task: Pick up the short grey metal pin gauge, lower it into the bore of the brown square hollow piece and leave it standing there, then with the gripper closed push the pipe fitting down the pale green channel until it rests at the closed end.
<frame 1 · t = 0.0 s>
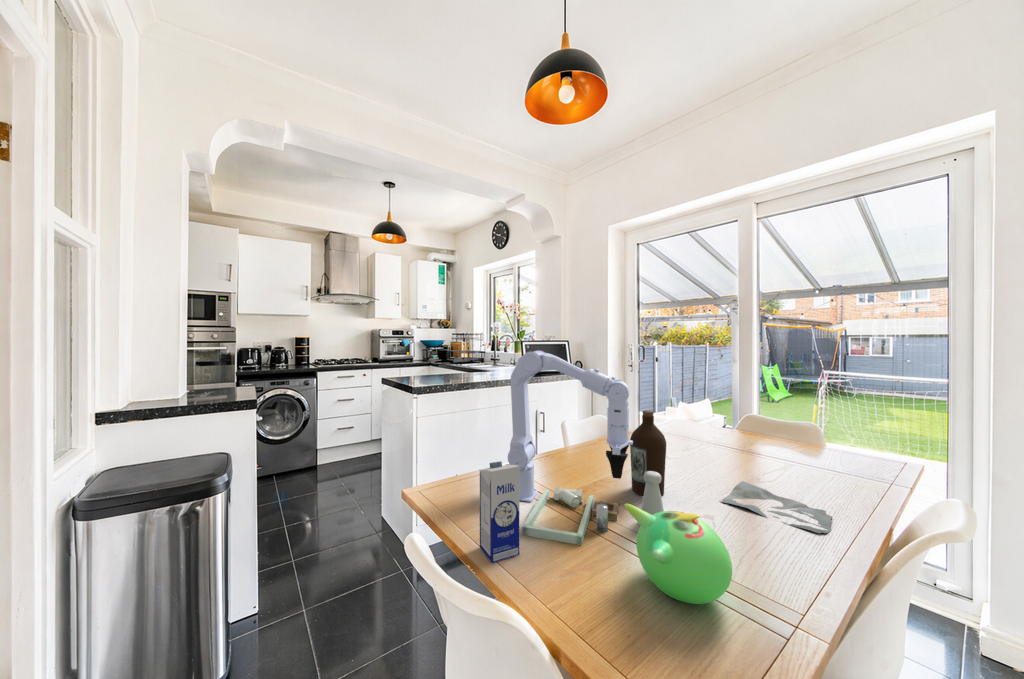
hand: (617, 473, 106), 10 cm above the table, tool pointing down, fingers open, 7 cm apart
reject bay: (557, 526, 97), on the table
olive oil: (647, 492, 118), on the table
salt shaker: (652, 523, 99), on the table
pin: (602, 529, 95), on the table
pipe fitting: (567, 504, 110), on the table
toy bird: (678, 590, 73), on the table
brown square hollow piece: (605, 513, 104), on the table
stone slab: (776, 511, 106), on the table
milk carton: (499, 552, 86), on the table
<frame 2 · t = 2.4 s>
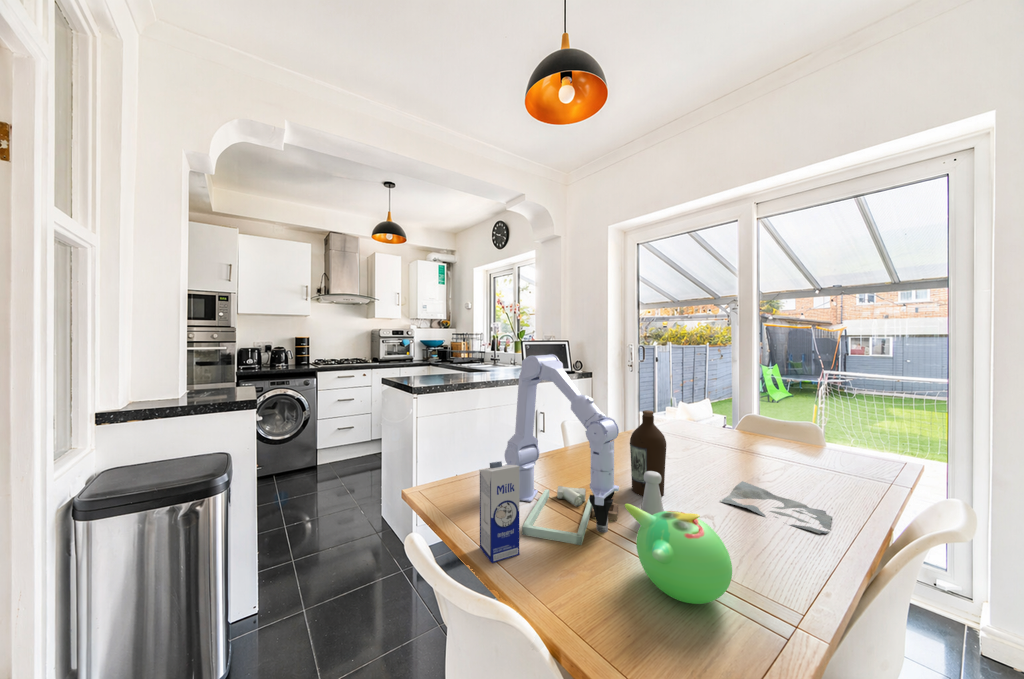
hand: (602, 521, 95), 2 cm above the table, tool pointing down, fingers closed on pin, 3 cm apart
pin: (602, 529, 95), on the table, touching gripper
pipe fitting: (571, 503, 111), on the table
everything else where it was.
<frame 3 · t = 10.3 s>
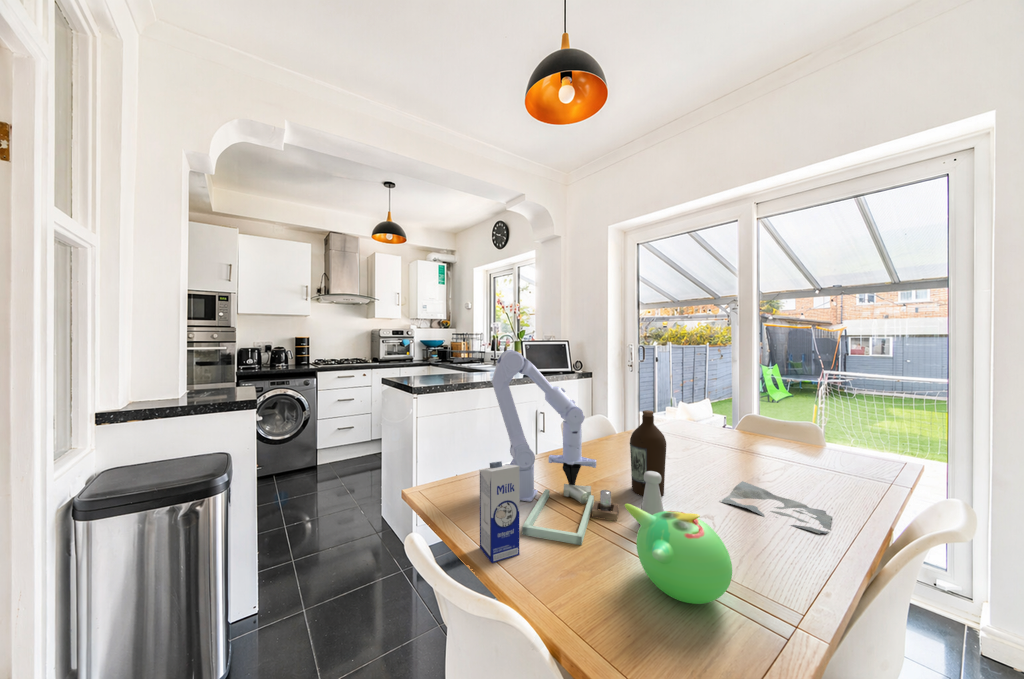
hand: (572, 487, 118), 1 cm above the table, tool pointing down, fingers closed
pin: (605, 513, 104), resting in brown square hollow piece
pipe fitting: (577, 500, 113), on the table
everything else where it was.
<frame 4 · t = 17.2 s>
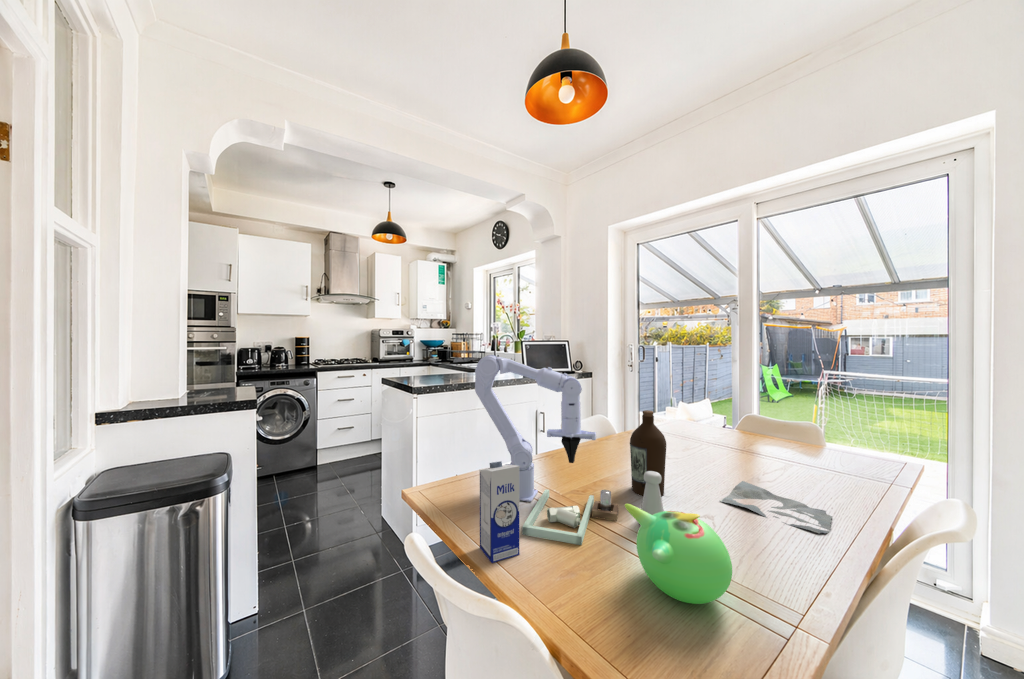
hand: (571, 461, 115), 10 cm above the table, tool pointing down, fingers closed
pipe fitting: (565, 525, 98), on the table
everything else where it was.
at the end: pipe fitting inside the target area (2.5 cm from its centre), on the table; pin 0.1 cm from the brown square hollow piece (horizontally); pin tilted 1° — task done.
